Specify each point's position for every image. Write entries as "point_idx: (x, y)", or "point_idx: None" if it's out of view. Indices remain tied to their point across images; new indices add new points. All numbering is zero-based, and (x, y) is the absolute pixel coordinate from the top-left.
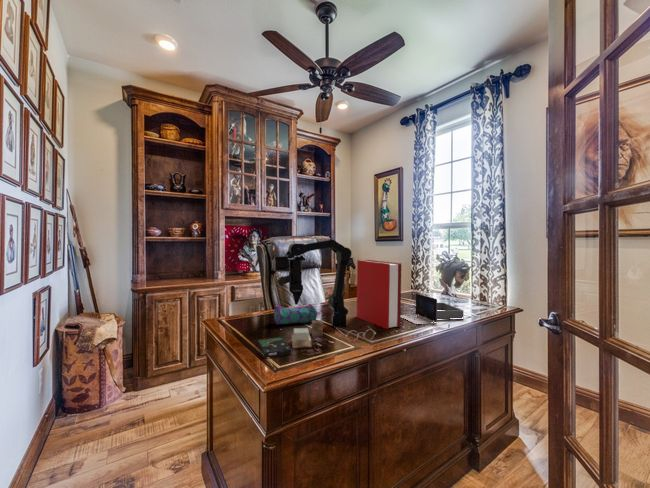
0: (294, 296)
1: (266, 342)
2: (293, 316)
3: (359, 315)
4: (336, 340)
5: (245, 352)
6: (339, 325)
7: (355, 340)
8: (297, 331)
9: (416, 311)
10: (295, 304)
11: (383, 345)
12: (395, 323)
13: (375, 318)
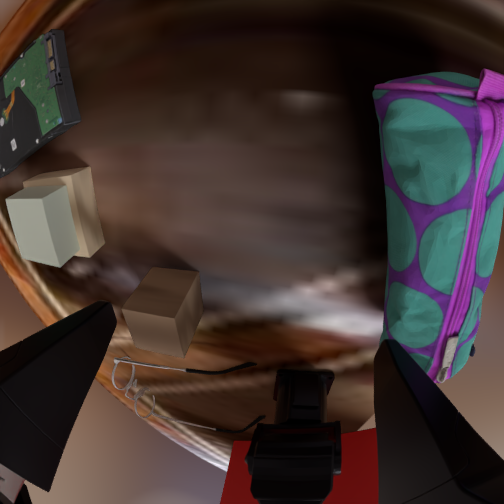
0: (8, 363)
1: (24, 75)
2: (393, 220)
3: (365, 437)
4: (123, 329)
5: (22, 25)
6: (278, 387)
7: (133, 368)
8: (18, 214)
9: None
10: (100, 304)
11: (116, 391)
12: None
13: None
